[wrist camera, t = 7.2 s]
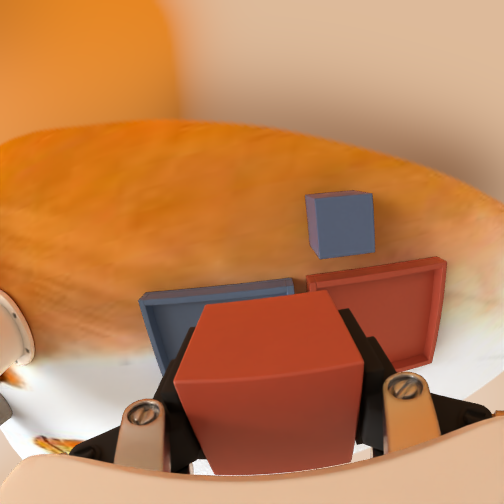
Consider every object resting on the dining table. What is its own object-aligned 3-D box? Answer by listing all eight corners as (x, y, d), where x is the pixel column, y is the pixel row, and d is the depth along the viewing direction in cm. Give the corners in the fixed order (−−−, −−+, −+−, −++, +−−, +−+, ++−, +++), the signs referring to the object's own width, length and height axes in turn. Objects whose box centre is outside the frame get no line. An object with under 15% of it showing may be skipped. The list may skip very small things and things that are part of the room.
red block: (227, 393, 12) (213, 475, 7) (204, 303, 10) (171, 381, 6) (329, 382, 11) (351, 462, 7) (327, 288, 10) (365, 361, 6)
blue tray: (175, 387, 30) (170, 398, 28) (145, 292, 27) (137, 300, 25) (299, 380, 29) (301, 391, 27) (291, 277, 26) (293, 285, 24)
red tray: (311, 378, 29) (313, 389, 27) (306, 275, 26) (309, 283, 24) (424, 354, 28) (431, 363, 26) (437, 256, 25) (447, 261, 23)
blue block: (309, 245, 25) (319, 259, 21) (304, 194, 24) (314, 198, 20) (357, 239, 25) (375, 252, 21) (354, 190, 24) (372, 193, 19)
